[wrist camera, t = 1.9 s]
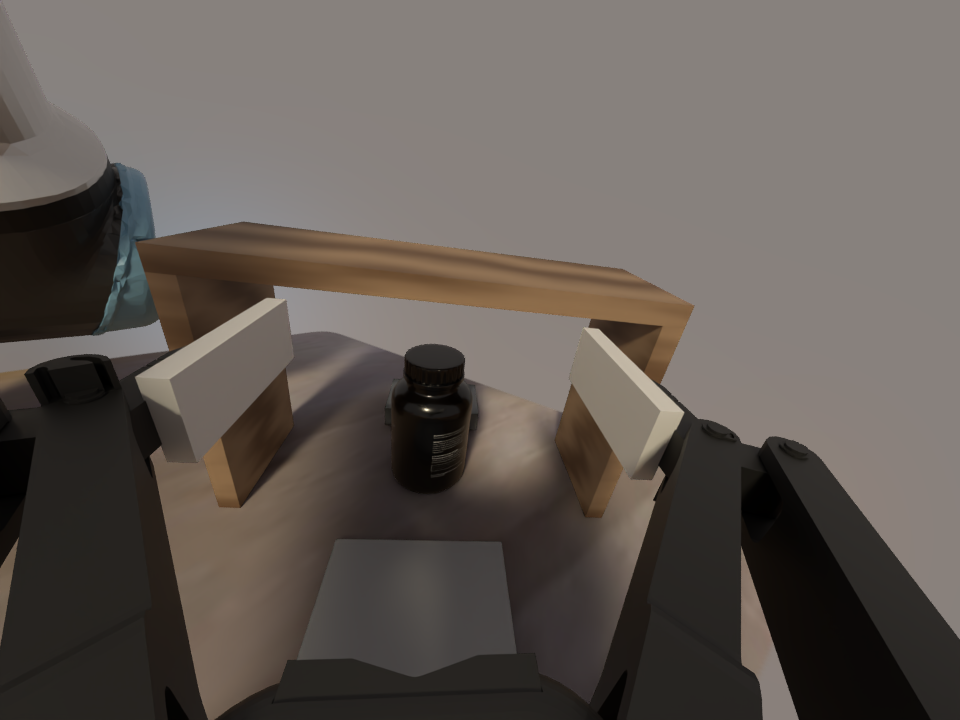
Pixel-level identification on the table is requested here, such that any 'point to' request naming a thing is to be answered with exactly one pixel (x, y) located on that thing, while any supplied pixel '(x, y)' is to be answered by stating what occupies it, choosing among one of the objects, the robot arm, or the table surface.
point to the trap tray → (473, 412)
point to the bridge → (405, 275)
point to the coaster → (411, 604)
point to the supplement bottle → (430, 419)
